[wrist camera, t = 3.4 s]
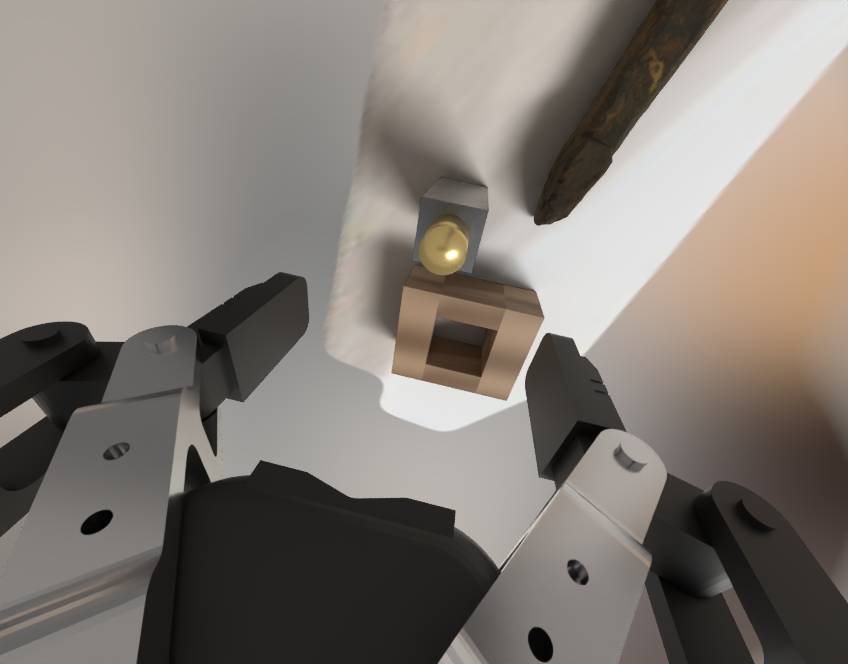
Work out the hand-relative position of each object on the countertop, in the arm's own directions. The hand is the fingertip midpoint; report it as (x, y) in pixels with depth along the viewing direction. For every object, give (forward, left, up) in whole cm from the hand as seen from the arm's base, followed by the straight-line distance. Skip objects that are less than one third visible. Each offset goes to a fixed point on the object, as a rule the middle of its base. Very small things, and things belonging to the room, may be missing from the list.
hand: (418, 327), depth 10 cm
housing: (+11, +3, -20) cm, 23 cm away
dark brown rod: (-9, +9, -20) cm, 24 cm away
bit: (0, 0, -20) cm, 20 cm away
